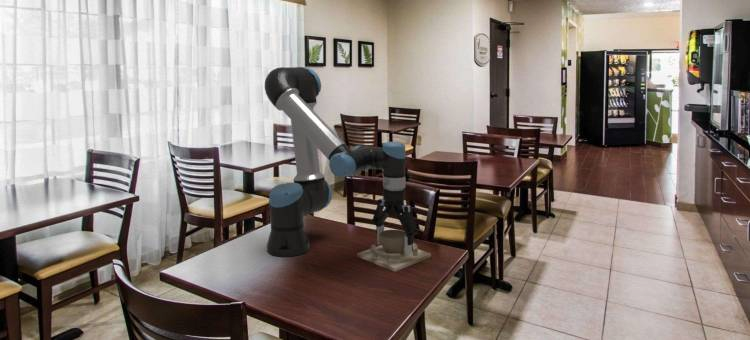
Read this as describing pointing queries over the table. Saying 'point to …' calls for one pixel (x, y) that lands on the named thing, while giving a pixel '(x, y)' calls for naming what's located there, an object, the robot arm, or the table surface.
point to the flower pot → (393, 241)
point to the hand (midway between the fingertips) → (394, 248)
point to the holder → (393, 257)
